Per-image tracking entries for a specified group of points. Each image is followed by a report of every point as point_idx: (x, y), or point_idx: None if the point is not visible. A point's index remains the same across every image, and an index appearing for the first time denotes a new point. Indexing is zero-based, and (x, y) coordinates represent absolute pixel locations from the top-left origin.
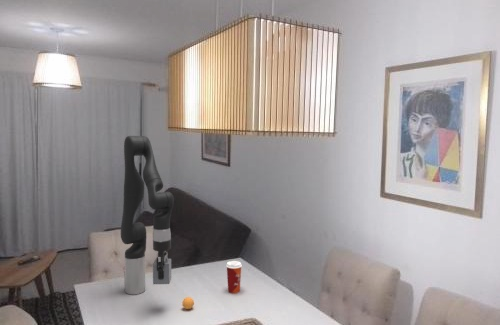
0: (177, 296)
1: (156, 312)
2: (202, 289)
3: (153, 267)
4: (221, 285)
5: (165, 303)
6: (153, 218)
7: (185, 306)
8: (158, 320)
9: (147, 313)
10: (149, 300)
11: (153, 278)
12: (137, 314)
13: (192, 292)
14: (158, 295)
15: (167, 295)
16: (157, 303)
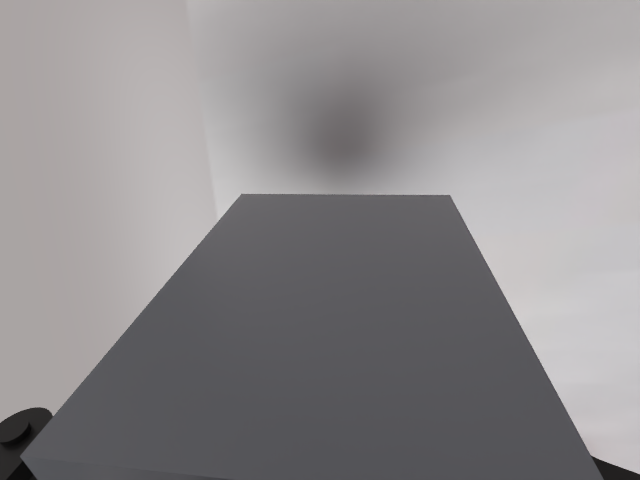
0: (541, 239)
1: (309, 141)
2: (606, 361)
3: (101, 375)
4: (625, 435)
5: (441, 177)
6: None
7: None
8: (211, 171)
9: (294, 81)
10: (525, 40)
11: (214, 234)
12: (276, 3)
13: (578, 315)
14: (612, 99)
15: (584, 171)
16: (451, 121)
